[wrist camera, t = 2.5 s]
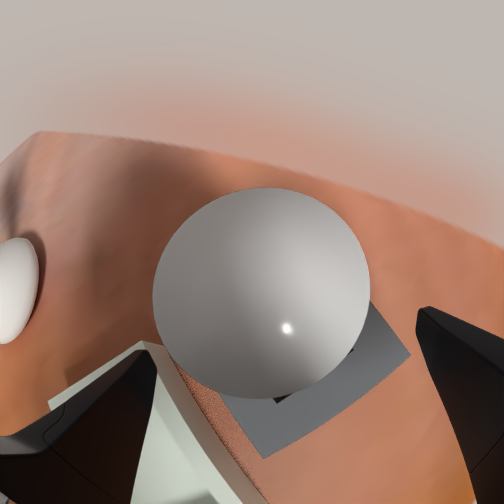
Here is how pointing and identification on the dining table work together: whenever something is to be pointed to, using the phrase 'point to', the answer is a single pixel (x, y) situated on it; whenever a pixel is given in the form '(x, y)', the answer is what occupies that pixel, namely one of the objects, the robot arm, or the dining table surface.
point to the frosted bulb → (261, 293)
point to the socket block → (321, 390)
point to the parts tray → (178, 444)
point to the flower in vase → (17, 286)
